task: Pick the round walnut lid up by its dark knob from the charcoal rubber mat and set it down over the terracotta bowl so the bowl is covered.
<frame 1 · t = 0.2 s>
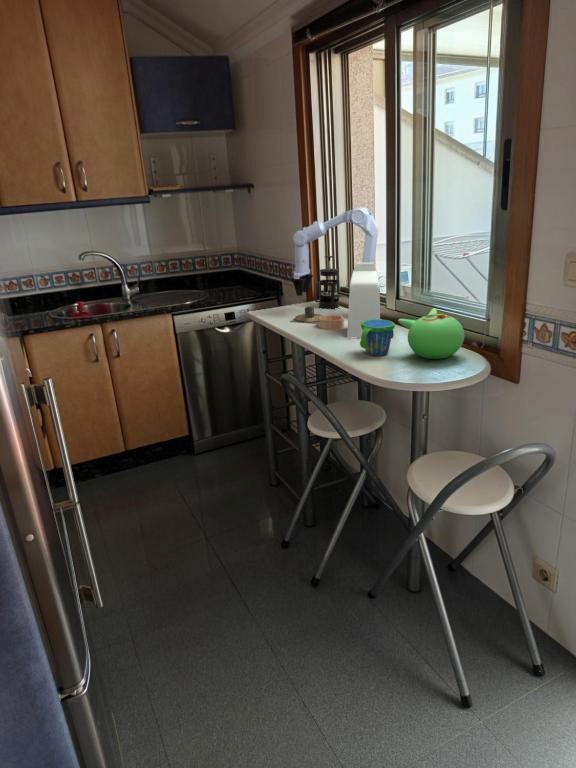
hand: (302, 293, 226), 10 cm above the counter, tool pointing down, fingers open, 7 cm apart
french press: (327, 307, 246), on the counter
lid: (309, 319, 223), on the counter, touching mat
green teapot: (432, 357, 173), on the counter
bowl: (331, 327, 211), on the counter
mat: (309, 320, 223), on the counter
snack cup: (376, 353, 178), on the counter
milk: (363, 334, 202), on the counter
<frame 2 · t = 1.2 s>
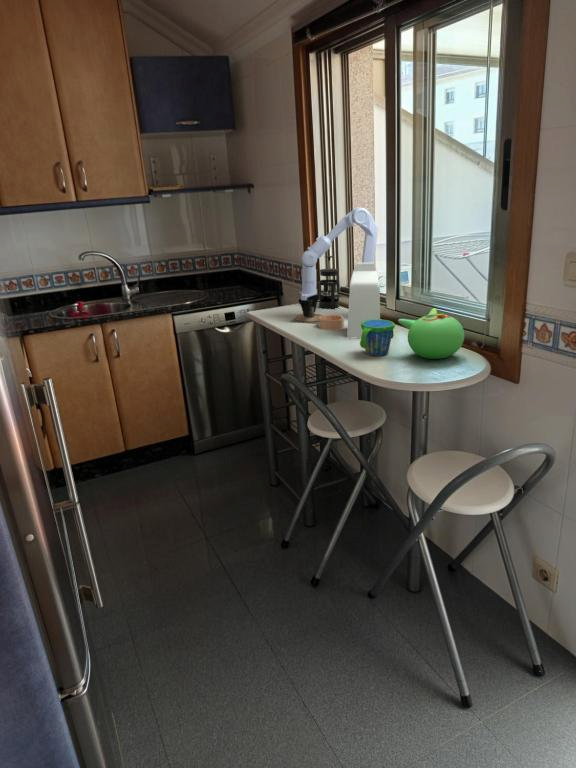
hand: (309, 314, 222), 3 cm above the counter, tool pointing down, fingers open, 7 cm apart
nothing on the counter moved.
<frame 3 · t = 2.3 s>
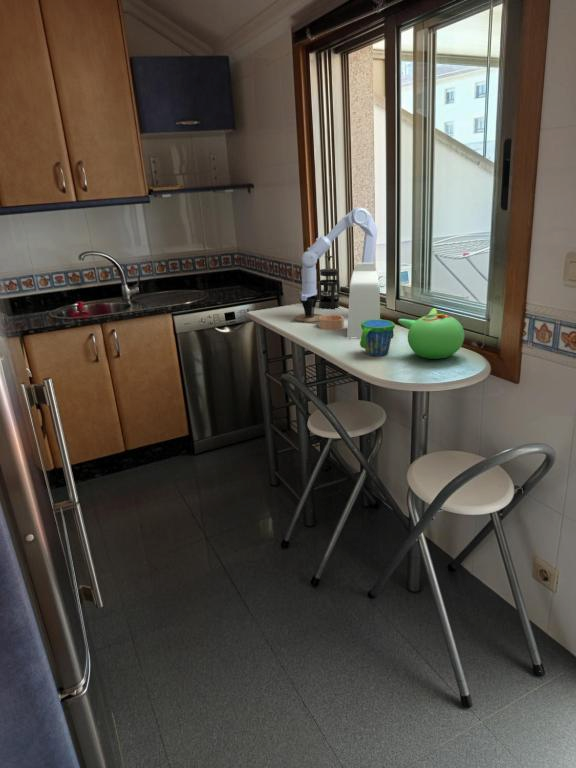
hand: (309, 314, 222), 2 cm above the counter, tool pointing down, fingers closed on lid, 3 cm apart
lid: (309, 319, 223), on the counter, touching gripper, mat
everything else where it was.
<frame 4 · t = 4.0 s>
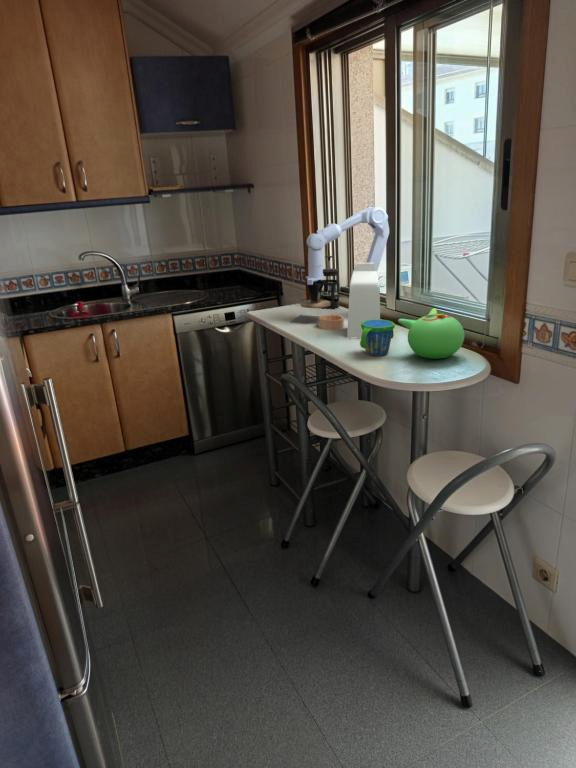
hand: (315, 299, 216), 9 cm above the counter, tool pointing down, fingers closed on lid, 3 cm apart
lid: (315, 304, 217), point 7 cm above the counter, touching gripper
everything else where it was.
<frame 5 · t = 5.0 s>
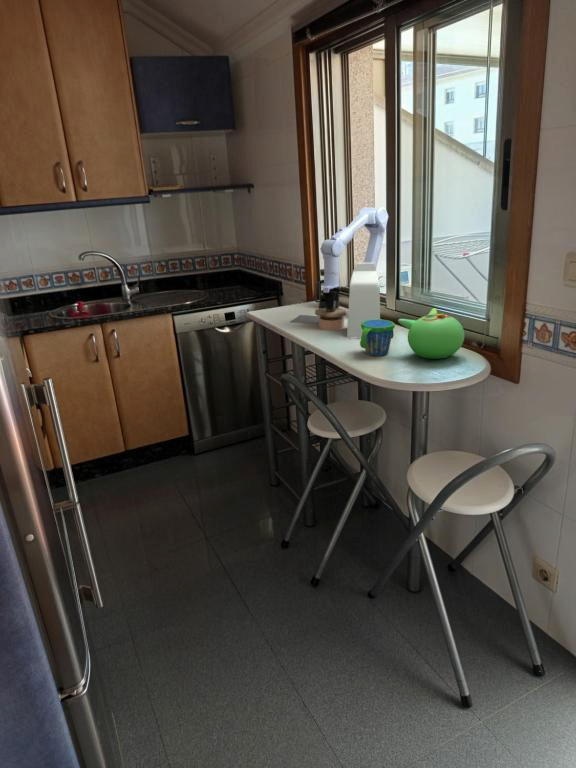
hand: (331, 308, 208), 8 cm above the counter, tool pointing down, fingers closed on lid, 3 cm apart
lid: (330, 313, 209), point 6 cm above the counter, touching gripper
everything else where it was.
when the fingers open (7 cm above the counter, at t = 5.9 s): lid stays where it is, resting on bowl.
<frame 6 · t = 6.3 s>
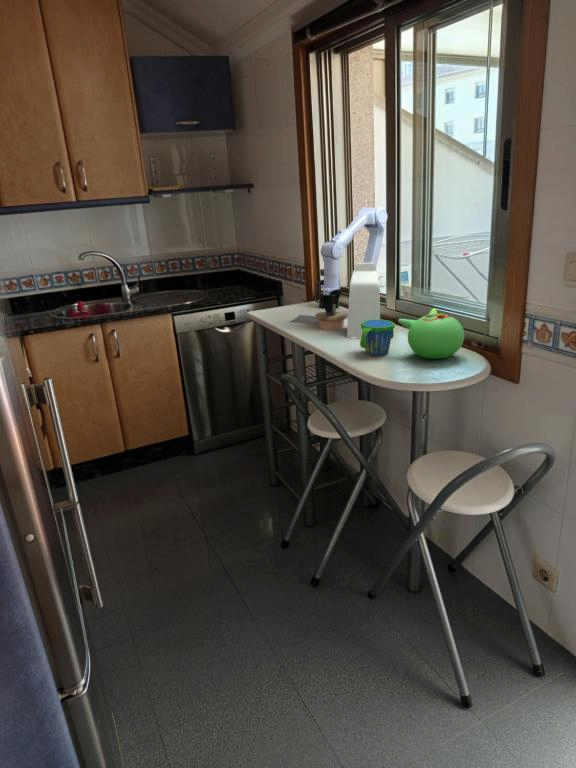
hand: (331, 310, 209), 7 cm above the counter, tool pointing down, fingers open, 7 cm apart
lid: (330, 317, 210), point 4 cm above the counter, touching bowl
everything else where it was.
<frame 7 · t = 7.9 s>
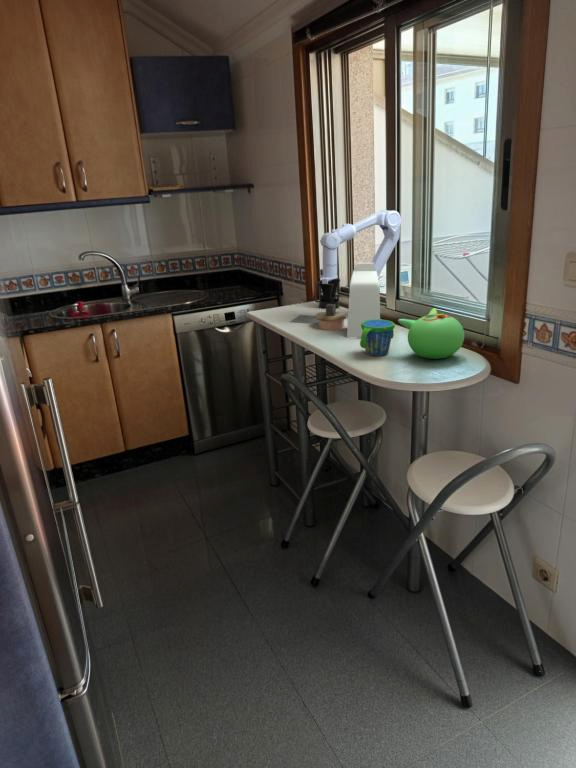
hand: (329, 299, 216), 10 cm above the counter, tool pointing down, fingers open, 7 cm apart
nothing on the counter moved.
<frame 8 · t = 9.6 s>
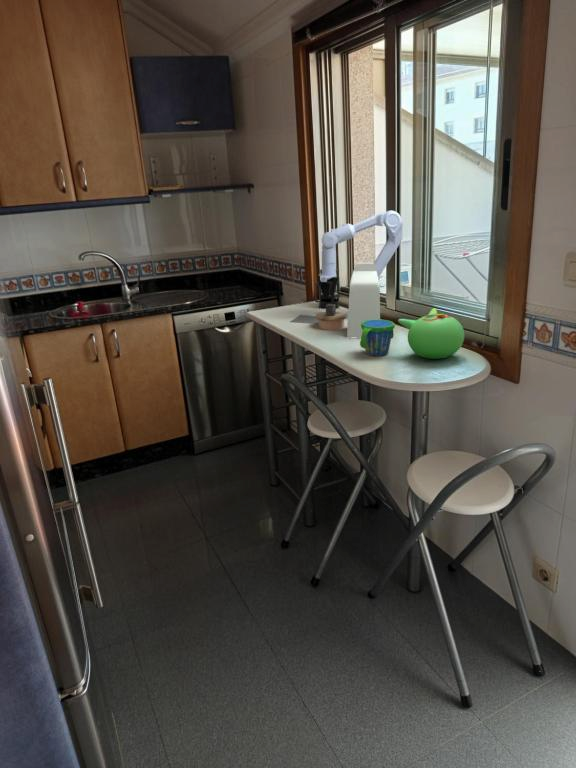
hand: (328, 296, 221), 9 cm above the counter, tool pointing down, fingers open, 7 cm apart
nothing on the counter moved.
at the end: lid 0.3 cm off-centre on the bowl, point 4.0 cm above the bowl's base; lid tilted 0°; the gripper is holding nothing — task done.
